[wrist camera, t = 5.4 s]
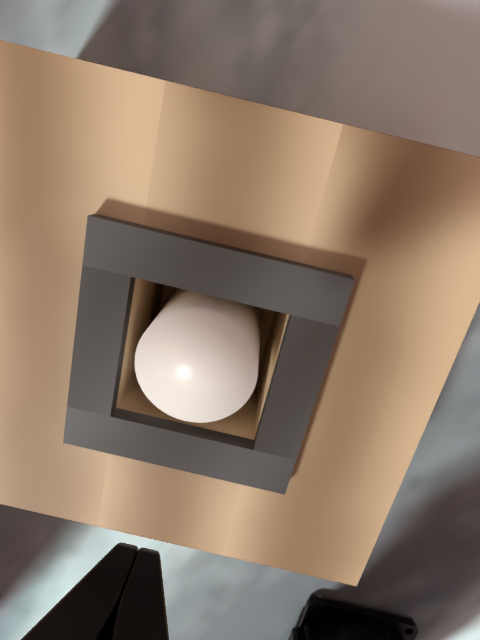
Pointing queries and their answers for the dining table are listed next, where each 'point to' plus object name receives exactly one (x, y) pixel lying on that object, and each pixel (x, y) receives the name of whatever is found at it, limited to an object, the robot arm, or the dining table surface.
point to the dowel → (200, 356)
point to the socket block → (227, 283)
